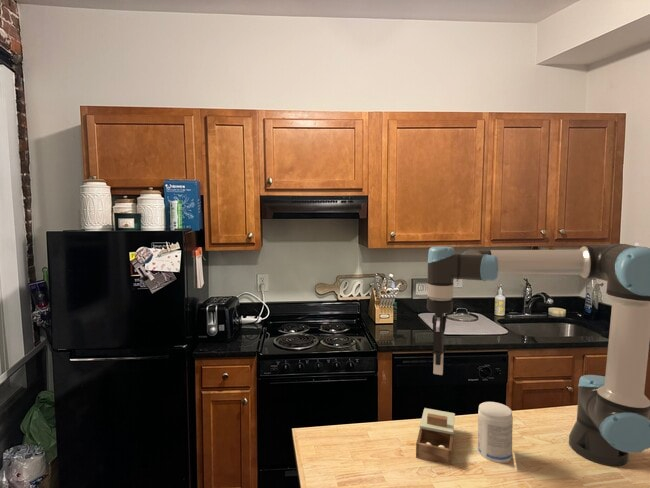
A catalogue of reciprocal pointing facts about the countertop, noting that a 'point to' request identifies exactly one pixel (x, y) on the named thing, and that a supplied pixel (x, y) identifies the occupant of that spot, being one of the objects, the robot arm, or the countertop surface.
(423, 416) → the lid
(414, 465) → the countertop surface
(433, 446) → the box
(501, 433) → the supplement tub
